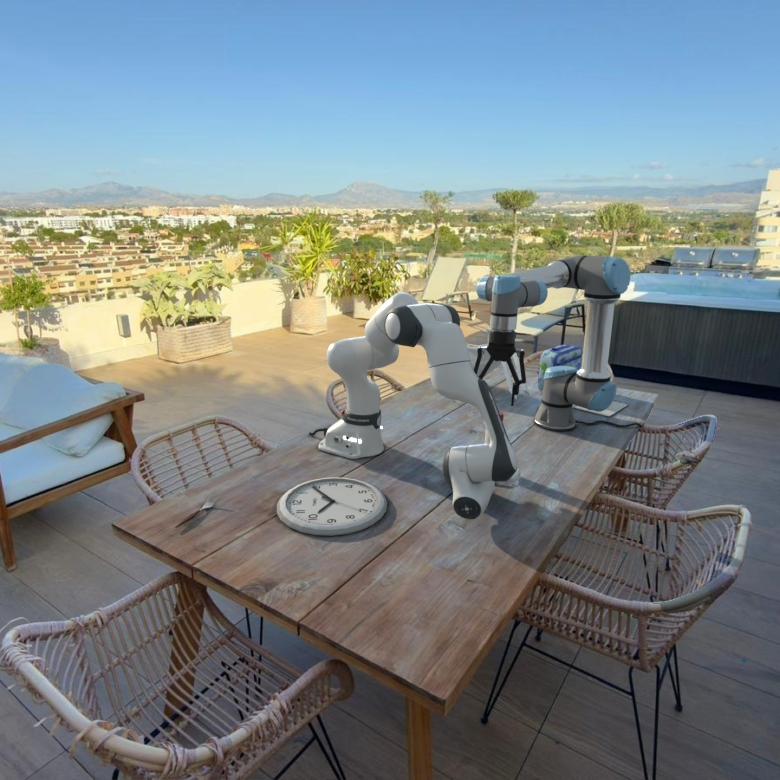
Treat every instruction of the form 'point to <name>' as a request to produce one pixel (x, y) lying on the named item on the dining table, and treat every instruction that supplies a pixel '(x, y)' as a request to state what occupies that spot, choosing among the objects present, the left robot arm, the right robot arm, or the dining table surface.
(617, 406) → the invitation card
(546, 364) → the lunch box
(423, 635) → the dining table surface
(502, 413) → the cap
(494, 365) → the white plastic object
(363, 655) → the dining table surface
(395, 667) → the dining table surface
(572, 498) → the dining table surface
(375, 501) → the wall clock
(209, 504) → the fork
